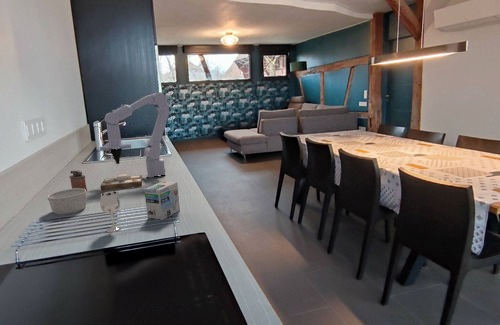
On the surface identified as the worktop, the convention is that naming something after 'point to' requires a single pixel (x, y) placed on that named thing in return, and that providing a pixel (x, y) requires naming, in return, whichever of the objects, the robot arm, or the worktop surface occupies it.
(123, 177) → the key
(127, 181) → the pattern card
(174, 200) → the light bulb box
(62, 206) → the ramekin
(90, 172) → the worktop surface
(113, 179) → the key
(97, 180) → the worktop surface
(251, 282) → the worktop surface
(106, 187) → the button board
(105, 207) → the wineglass
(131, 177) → the key
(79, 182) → the lighter
